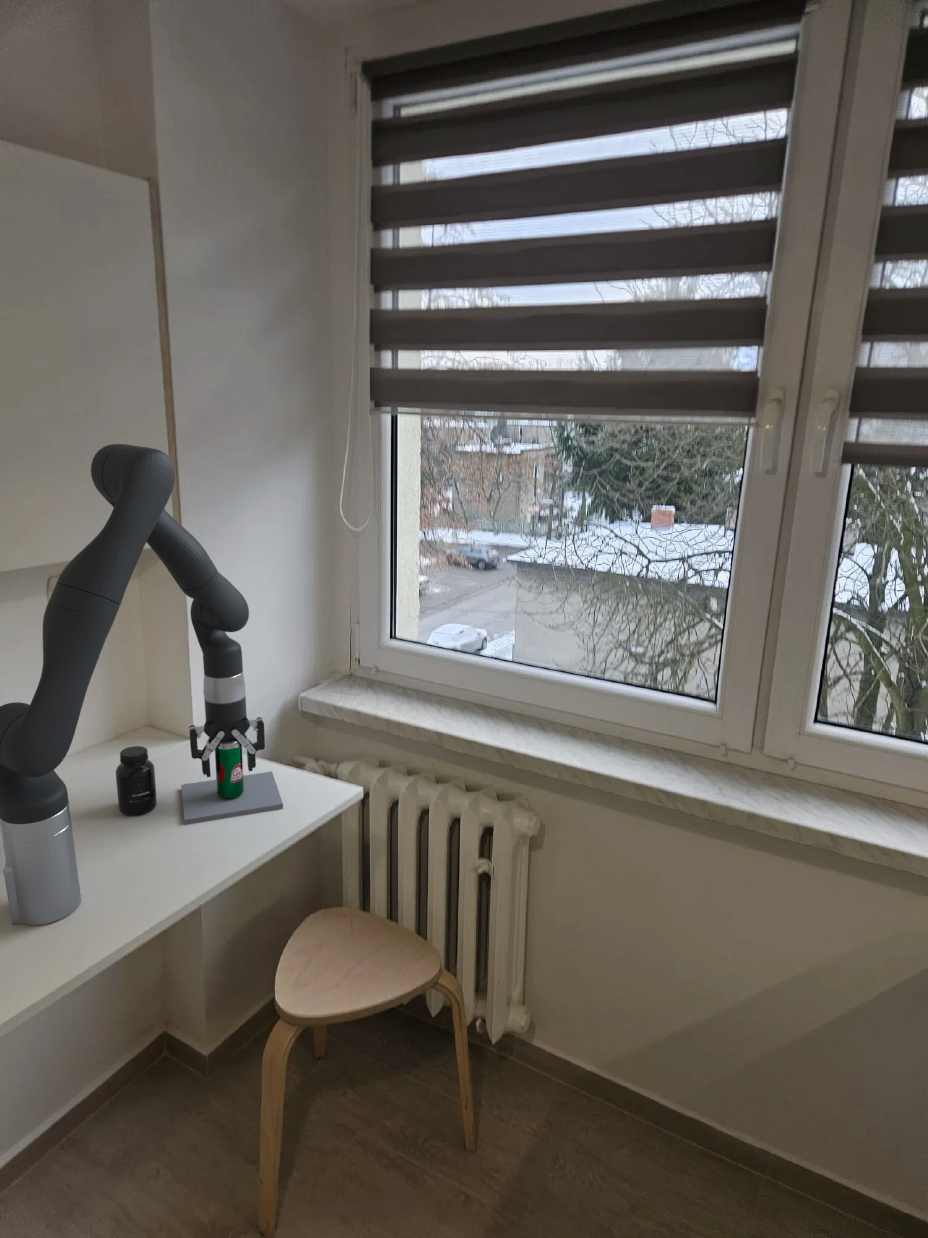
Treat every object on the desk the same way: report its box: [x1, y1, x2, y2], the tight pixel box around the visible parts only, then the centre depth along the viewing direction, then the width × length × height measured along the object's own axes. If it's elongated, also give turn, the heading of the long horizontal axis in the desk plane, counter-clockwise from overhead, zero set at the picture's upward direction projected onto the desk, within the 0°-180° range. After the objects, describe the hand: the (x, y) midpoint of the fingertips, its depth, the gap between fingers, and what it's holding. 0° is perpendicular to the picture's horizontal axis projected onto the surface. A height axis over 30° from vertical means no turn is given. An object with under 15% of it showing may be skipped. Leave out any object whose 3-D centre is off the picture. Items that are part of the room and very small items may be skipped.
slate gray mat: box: [180, 771, 284, 825], centre depth 154 cm, size 18×14×1 cm
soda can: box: [214, 740, 244, 799], centre depth 152 cm, size 5×5×12 cm
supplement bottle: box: [115, 745, 158, 817], centre depth 148 cm, size 7×7×12 cm
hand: (229, 772), depth 153 cm, fingers open, 7 cm apart
